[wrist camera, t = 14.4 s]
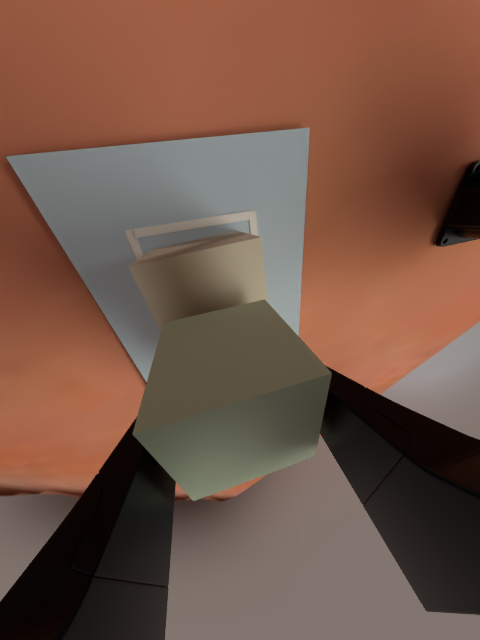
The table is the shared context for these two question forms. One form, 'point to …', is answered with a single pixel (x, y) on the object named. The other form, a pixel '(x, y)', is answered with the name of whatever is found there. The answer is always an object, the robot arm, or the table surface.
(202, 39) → the table surface
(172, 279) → the birch brick
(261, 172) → the board
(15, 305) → the table surface
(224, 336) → the sage cube
